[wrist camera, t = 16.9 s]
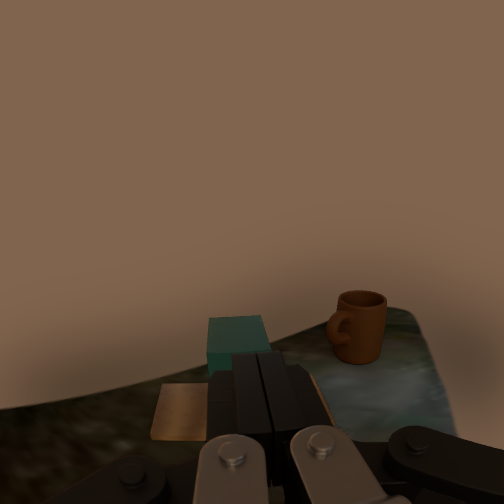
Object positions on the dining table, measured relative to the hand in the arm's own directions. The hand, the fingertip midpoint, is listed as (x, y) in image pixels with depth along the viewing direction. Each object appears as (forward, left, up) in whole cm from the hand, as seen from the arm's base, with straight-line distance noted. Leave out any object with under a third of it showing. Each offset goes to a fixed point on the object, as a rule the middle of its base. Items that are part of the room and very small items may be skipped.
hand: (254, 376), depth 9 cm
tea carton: (0, +19, -13) cm, 23 cm away
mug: (+17, +30, -20) cm, 40 cm away
